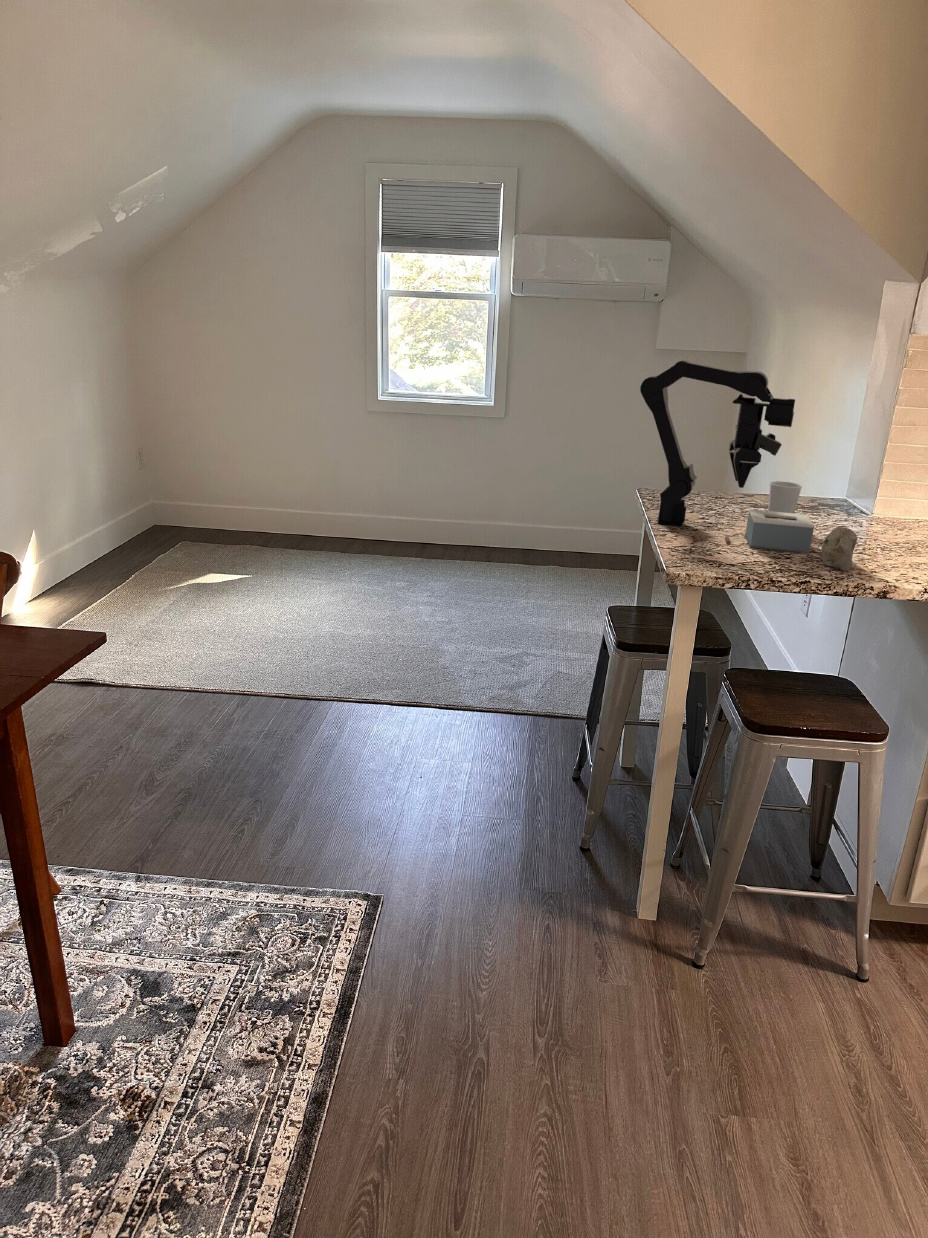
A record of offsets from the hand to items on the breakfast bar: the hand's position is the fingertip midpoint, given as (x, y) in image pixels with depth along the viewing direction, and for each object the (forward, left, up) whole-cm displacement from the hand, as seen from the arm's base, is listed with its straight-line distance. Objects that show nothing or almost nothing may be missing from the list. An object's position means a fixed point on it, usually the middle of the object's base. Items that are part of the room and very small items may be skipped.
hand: (739, 484), depth 234 cm
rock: (+21, -25, -13) cm, 35 cm away
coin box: (+10, -10, -12) cm, 19 cm away
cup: (+13, +9, -13) cm, 20 cm away
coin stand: (-6, -12, -12) cm, 18 cm away
